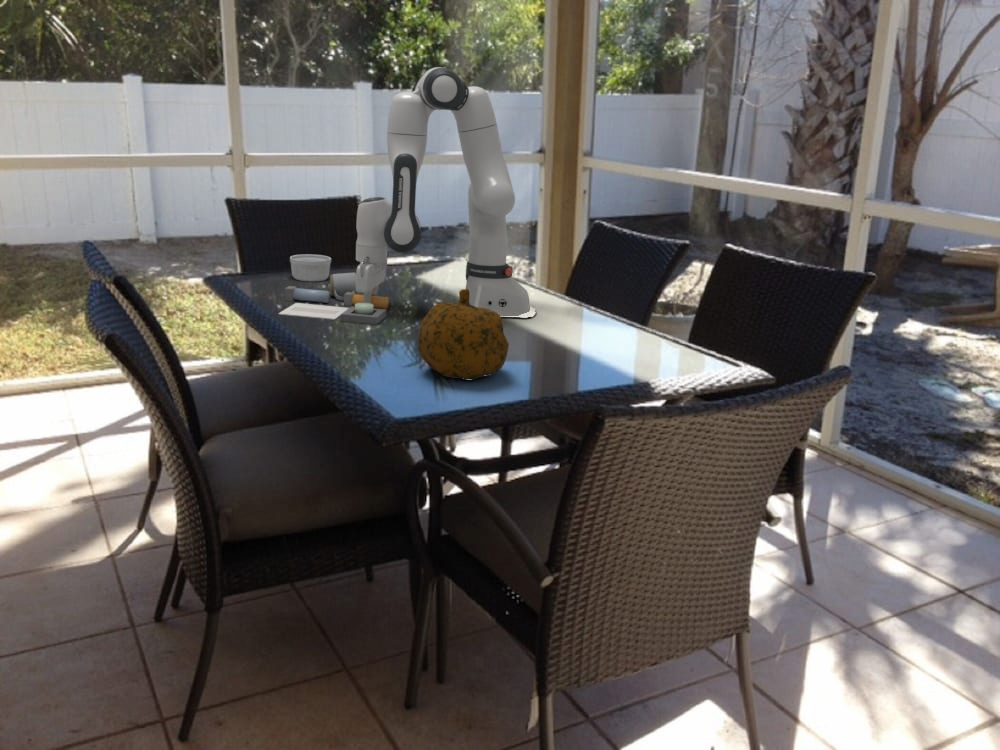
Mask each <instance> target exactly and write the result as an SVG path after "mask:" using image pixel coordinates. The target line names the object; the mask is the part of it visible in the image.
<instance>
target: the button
mask: <svg viewBox="0 0 1000 750" xmlns="http://www.w3.org/2000/svg"><path fill="white" fill-rule="evenodd" d="M354 307H355V313H356V314H364V315H369V314H373V304H371V303H356V304H355V306H354Z"/></svg>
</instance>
